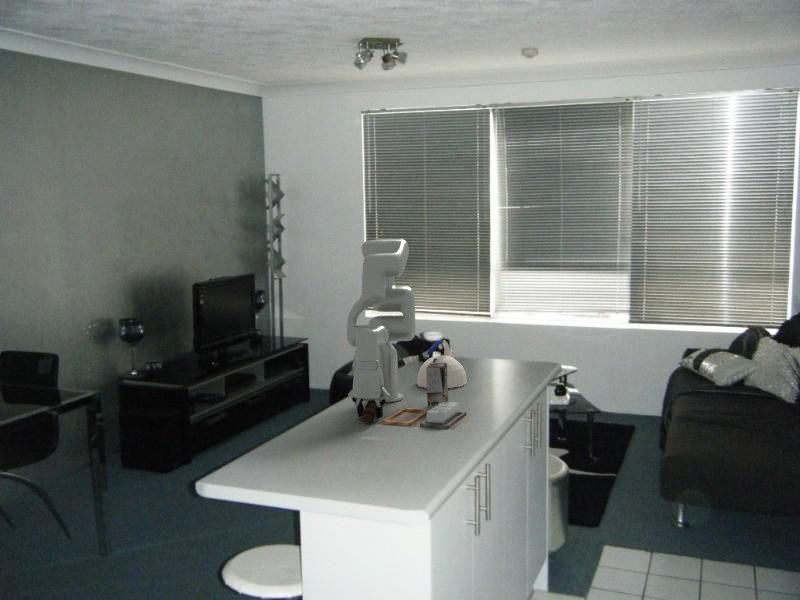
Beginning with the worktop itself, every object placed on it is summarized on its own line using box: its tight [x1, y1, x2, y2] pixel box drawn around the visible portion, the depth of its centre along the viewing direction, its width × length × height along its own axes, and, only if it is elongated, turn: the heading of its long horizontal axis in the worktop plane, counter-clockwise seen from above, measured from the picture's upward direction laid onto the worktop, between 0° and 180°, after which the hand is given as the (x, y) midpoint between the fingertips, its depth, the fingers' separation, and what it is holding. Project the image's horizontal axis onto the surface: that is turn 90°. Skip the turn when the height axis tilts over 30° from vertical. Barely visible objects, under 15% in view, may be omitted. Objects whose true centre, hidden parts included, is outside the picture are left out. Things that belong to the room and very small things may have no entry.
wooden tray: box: [378, 407, 472, 430], centre depth 268 cm, size 26×18×2 cm
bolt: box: [361, 399, 377, 424], centre depth 276 cm, size 6×5×15 cm
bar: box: [427, 401, 461, 425], centre depth 265 cm, size 6×15×4 cm, turn 157°
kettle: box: [416, 339, 468, 389], centre depth 328 cm, size 20×21×18 cm
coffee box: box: [426, 363, 449, 410], centre depth 284 cm, size 9×6×16 cm
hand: (370, 416), depth 276 cm, fingers closed on bolt, 6 cm apart
